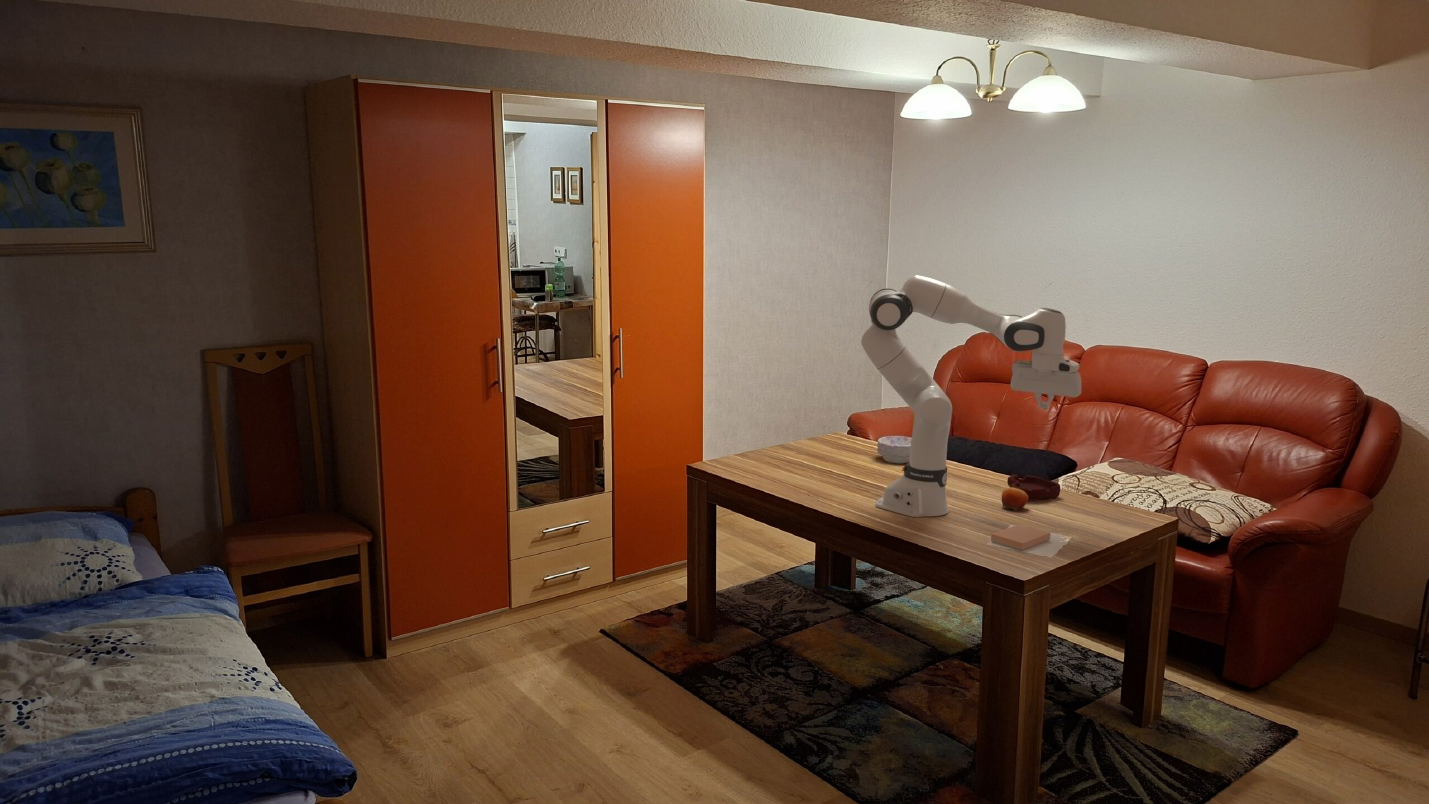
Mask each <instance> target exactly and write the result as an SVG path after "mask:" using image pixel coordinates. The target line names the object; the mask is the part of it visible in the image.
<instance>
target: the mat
mask: <svg viewBox="0 0 1429 804" xmlns="http://www.w3.org/2000/svg"><path fill="white" fill-rule="evenodd" d="M1012 526H1015V525H1012V524H1010V525H1009V526H1008V527H1007V528H1009V527H1012ZM1048 532H1049V531H1048ZM1049 533H1051V534H1050V540H1049V541H1046V542H1044V543H1041V544H1039V545H1036V546H1033V547H1031V548H1028V549H1025V550H1023V551H1020V550H1016V549H1013V548H1010V547H1007V546H1004V545H1000V544H997V543H994V542H991V540H990V541H989V542H987V543H986V545H988V546H991V547H997V548H1003V549H1007V550H1011V551H1017V552H1020V553H1025V554H1030V555H1035V556H1040V557H1044V556H1051V555H1052V556H1053V557H1055V556H1056V555H1057V554H1058V553H1059V552H1060V551H1059V550H1060V549H1061V550H1062V548H1064V547H1060V546H1062V545H1065V546H1066V545H1067V544H1068V543H1069V542H1065V541H1064V540H1066V539H1067V538H1060V537H1064V536H1066V535H1065V534H1060V533H1054V532H1049ZM1069 539H1070V538H1069ZM1060 541H1063V542H1060ZM1058 551H1059V552H1058ZM1053 557H1048V558H1049V559H1053Z"/></svg>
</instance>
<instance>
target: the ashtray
mask: <svg viewBox="0 0 1429 804" xmlns="http://www.w3.org/2000/svg"><path fill="white" fill-rule="evenodd" d="M1007 485H1008V487H1009V488H1011V487H1013V488H1017V489H1020V490H1022V491H1024V492H1025V493H1026V494H1027V495H1028V497H1029V498H1028V501H1039V500H1050V499H1051V500H1052V499H1057V498H1059V495H1060V494H1061V484H1060V483H1058V482H1055V481H1052V480H1049V479H1045V478H1041V477H1039V476H1036V475H1025V476H1024V477H1023V478H1020V477H1019V475H1018V474H1011V475H1009V476H1008V477H1007Z"/></svg>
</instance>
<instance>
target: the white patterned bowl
mask: <svg viewBox="0 0 1429 804" xmlns="http://www.w3.org/2000/svg"><path fill="white" fill-rule="evenodd" d="M911 438H912V437H909V436H904V435H903V436H902V435H887V436H883V437H880V438H877V439H878V440H877V454H878V455H881V456H882V459H883V460H884V461H885V462H887V463H891V464H908V463H909V462H910V449H911Z"/></svg>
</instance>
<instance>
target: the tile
mask: <svg viewBox="0 0 1429 804" xmlns="http://www.w3.org/2000/svg"><path fill="white" fill-rule="evenodd" d="M1008 527H1009V526H1008ZM1008 527H1007V528H1004V529H1001V530H999V531H995V532H992V533H991V534H990V541H991V542H994V543H997V544H1000V545H1004V546H1007V547H1010V548H1013V549H1016V550H1020V551H1023V550H1025V549H1028V548H1031V547H1033V546H1036V545H1039V544H1041V543H1044V542H1046V541H1049V540H1050V534H1051V533H1052V532H1050V533H1049V531H1046V530H1042V529H1039V528H1035V527H1032V526H1028V525H1025V524H1022V523H1019V524H1015V525H1014V526H1012V527H1009V528H1008ZM1016 550H1015V551H1016ZM1020 551H1019V552H1020Z"/></svg>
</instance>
